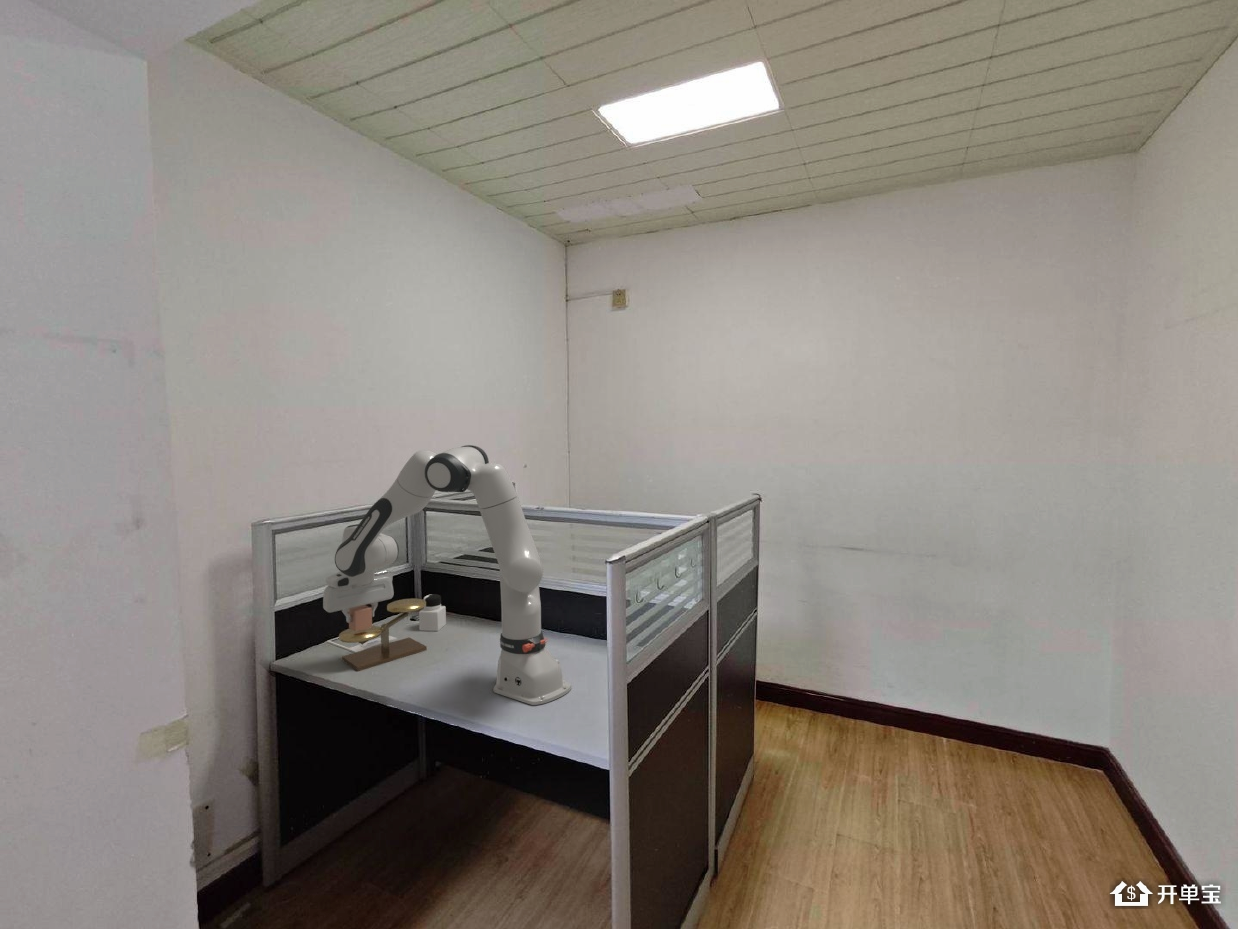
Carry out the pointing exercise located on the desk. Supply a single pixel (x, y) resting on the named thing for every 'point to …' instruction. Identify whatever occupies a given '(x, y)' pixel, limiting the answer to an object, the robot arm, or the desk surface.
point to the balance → (383, 639)
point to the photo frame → (362, 646)
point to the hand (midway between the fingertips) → (360, 619)
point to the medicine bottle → (432, 614)
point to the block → (360, 618)
